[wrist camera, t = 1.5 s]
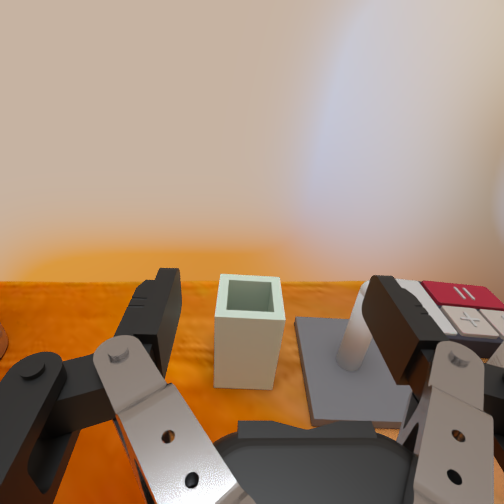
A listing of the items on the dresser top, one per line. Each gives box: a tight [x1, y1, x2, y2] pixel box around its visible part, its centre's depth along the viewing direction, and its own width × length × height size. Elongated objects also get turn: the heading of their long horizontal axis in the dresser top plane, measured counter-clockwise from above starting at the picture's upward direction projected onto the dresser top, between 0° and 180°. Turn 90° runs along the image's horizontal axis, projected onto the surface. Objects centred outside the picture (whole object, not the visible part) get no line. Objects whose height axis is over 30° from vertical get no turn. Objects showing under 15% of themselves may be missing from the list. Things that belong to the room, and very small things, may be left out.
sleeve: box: [214, 274, 285, 390], centre depth 31 cm, size 6×6×10 cm
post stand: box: [294, 280, 412, 429], centre depth 31 cm, size 14×13×12 cm
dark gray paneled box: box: [396, 279, 504, 358], centre depth 40 cm, size 11×4×15 cm
